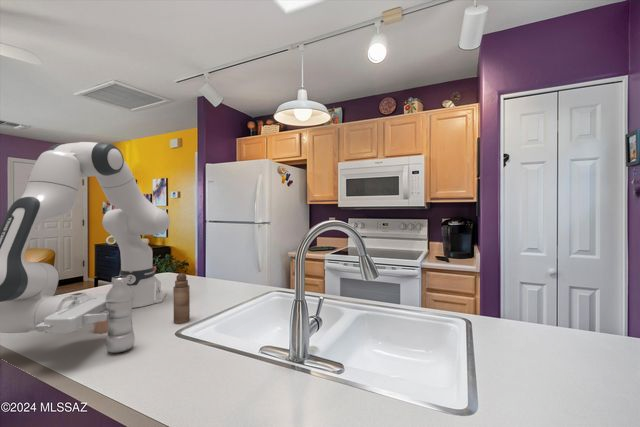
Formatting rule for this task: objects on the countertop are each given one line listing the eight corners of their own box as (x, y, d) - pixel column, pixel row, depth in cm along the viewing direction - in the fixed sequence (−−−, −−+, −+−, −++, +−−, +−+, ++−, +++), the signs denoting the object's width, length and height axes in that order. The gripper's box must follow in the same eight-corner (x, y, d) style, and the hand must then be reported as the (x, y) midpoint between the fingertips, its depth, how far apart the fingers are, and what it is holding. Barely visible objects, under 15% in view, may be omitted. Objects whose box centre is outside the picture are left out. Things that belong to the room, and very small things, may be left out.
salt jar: (100, 327, 98) (99, 299, 98) (118, 326, 99) (118, 298, 99) (89, 334, 92) (89, 304, 92) (109, 332, 93) (109, 303, 93)
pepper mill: (176, 319, 105) (176, 271, 105) (191, 318, 106) (191, 271, 105) (171, 324, 100) (171, 274, 100) (187, 323, 101) (187, 274, 101)
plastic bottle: (121, 357, 78) (120, 280, 77) (99, 354, 79) (98, 279, 79) (140, 346, 84) (140, 275, 84) (120, 344, 85) (119, 274, 85)
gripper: (27, 314, 69) (94, 311, 71) (83, 290, 89) (134, 289, 91) (28, 342, 69) (94, 338, 71) (84, 312, 89) (134, 309, 91)
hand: (117, 310), depth 81 cm, fingers open, 8 cm apart
